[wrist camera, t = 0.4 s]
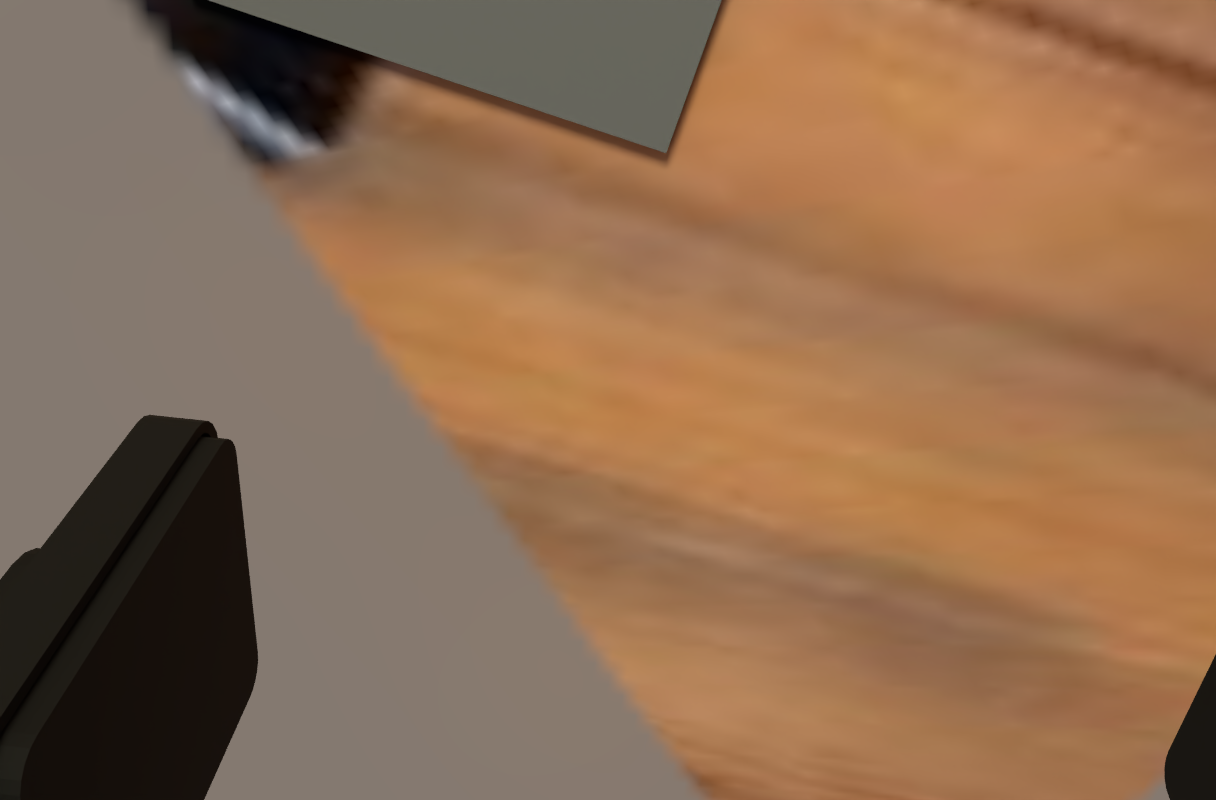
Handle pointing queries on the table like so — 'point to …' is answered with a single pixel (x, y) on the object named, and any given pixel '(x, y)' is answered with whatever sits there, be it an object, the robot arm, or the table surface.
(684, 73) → the slate mat
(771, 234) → the table surface
